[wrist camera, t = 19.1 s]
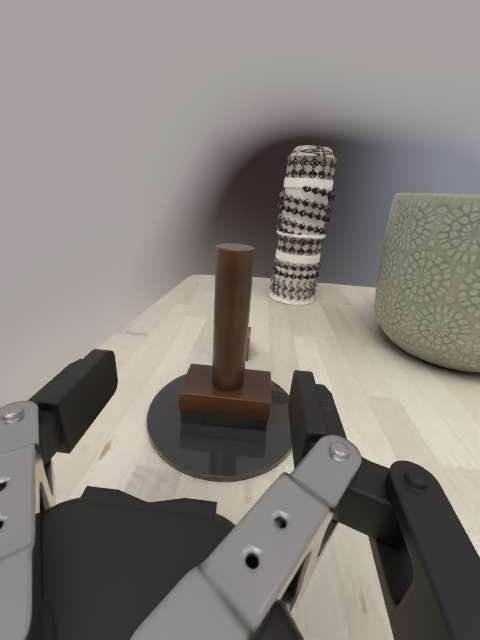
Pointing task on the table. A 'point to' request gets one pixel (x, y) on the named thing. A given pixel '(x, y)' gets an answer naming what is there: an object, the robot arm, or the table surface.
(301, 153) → the white patterned cylinder
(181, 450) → the plate
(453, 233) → the planter
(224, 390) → the wooden peg
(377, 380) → the table surface
